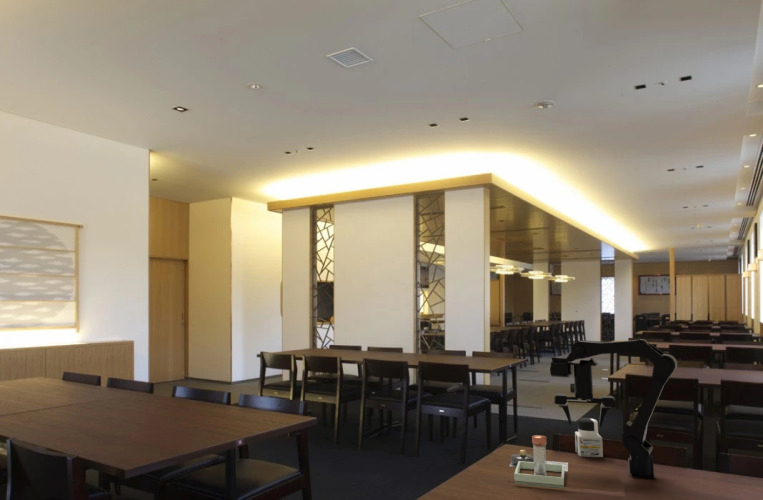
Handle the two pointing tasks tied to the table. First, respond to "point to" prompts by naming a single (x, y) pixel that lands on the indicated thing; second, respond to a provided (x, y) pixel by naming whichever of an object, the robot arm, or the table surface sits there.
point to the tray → (539, 478)
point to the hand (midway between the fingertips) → (585, 426)
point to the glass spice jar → (539, 454)
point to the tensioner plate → (531, 459)
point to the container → (588, 438)
